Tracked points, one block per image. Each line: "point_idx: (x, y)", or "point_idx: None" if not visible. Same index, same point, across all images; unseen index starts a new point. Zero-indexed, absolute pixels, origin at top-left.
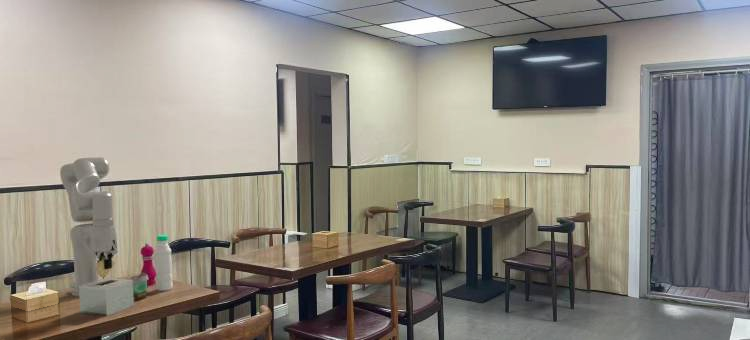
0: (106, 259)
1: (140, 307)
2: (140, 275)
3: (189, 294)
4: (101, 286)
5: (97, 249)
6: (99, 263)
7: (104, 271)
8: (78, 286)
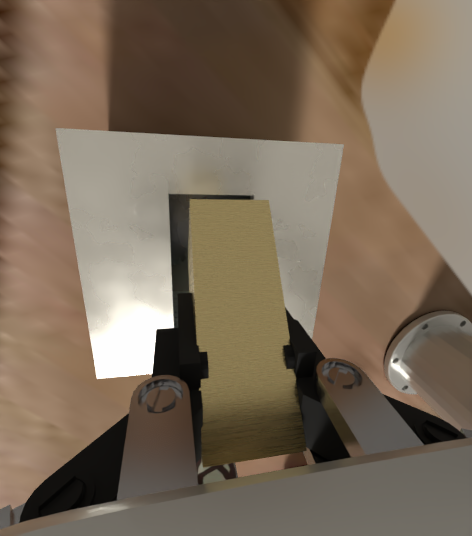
0: (162, 377)
1: (77, 292)
2: (229, 473)
3: (49, 468)
4: (148, 170)
5: (439, 529)
6: (256, 296)
7: (190, 275)
8: (466, 341)
